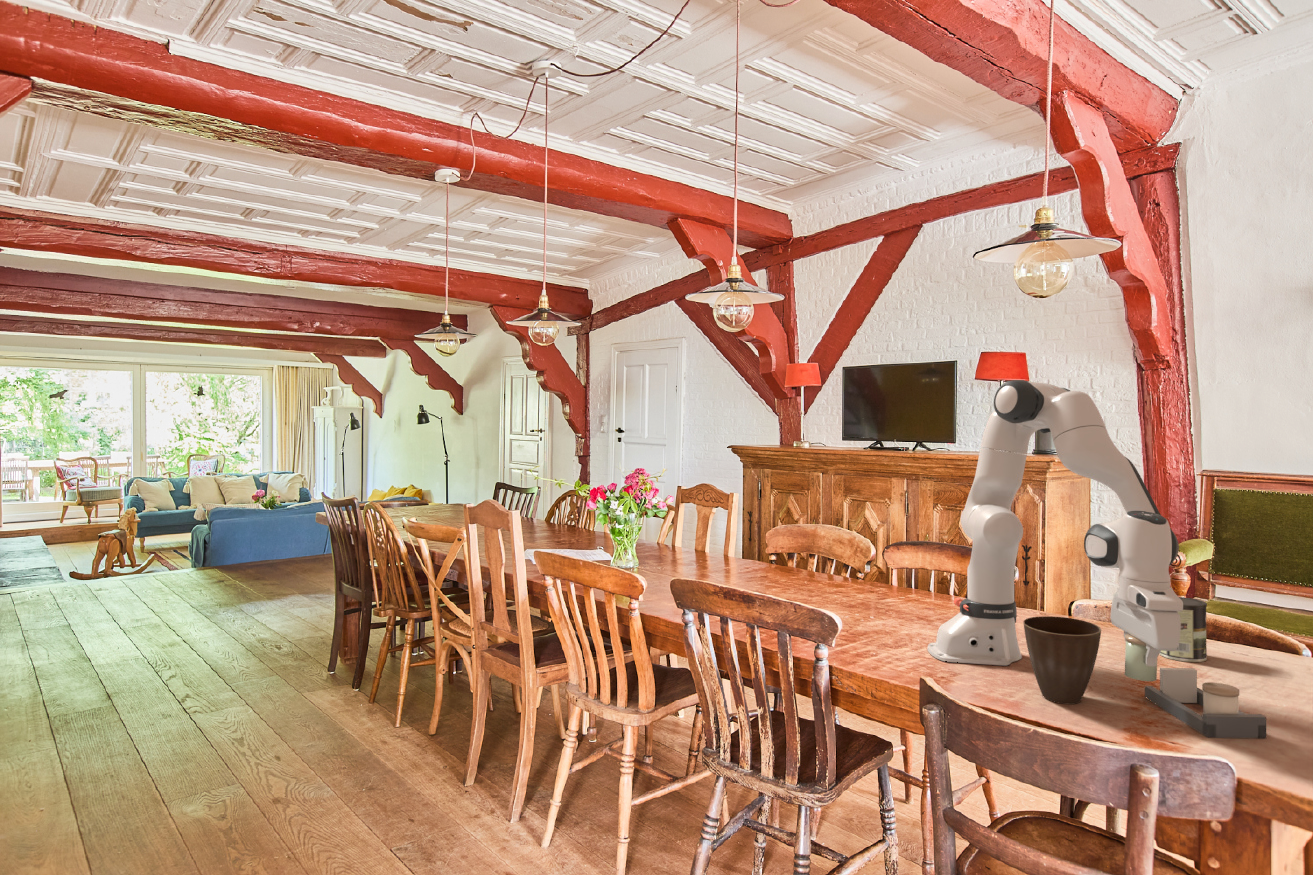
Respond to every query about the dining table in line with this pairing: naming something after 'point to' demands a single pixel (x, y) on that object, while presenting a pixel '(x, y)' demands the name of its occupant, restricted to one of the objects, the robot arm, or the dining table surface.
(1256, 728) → the tray
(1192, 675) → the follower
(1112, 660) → the dining table surface
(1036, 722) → the dining table surface
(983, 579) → the robot arm
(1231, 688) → the cream jar
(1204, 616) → the coffee can
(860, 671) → the dining table surface
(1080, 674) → the plant pot
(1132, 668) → the sage jar
